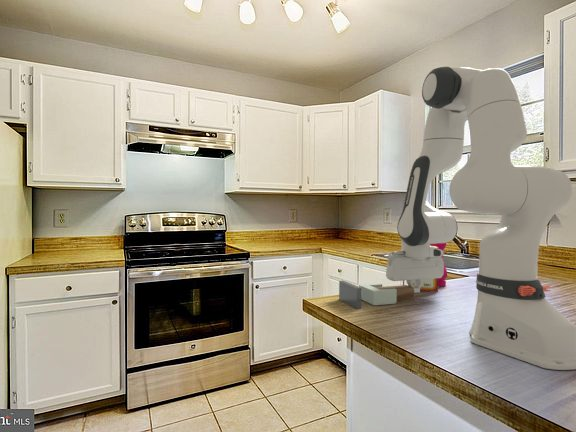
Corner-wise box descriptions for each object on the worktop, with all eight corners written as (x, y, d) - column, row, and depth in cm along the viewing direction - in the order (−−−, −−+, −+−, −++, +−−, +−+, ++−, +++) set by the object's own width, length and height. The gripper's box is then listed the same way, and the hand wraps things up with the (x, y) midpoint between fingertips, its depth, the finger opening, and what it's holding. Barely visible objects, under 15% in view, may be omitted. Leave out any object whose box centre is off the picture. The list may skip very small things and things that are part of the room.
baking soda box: (435, 288, 128) (436, 245, 128) (438, 292, 122) (438, 247, 122) (408, 286, 131) (409, 244, 131) (409, 290, 125) (410, 245, 124)
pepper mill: (430, 282, 138) (431, 232, 138) (449, 284, 134) (450, 233, 134) (424, 285, 133) (425, 233, 133) (444, 288, 128) (445, 234, 128)
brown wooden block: (413, 300, 111) (414, 287, 111) (381, 302, 107) (381, 290, 107) (406, 297, 115) (406, 285, 115) (374, 299, 111) (374, 287, 111)
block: (396, 303, 106) (396, 289, 106) (373, 305, 103) (374, 291, 103) (380, 296, 114) (380, 283, 114) (358, 298, 112) (358, 285, 111)
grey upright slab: (361, 308, 101) (361, 288, 100) (356, 308, 100) (356, 288, 100) (343, 299, 111) (343, 280, 111) (339, 299, 110) (339, 280, 110)
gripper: (394, 253, 107) (393, 297, 107) (447, 251, 113) (446, 293, 113) (382, 250, 113) (381, 292, 113) (433, 248, 119) (432, 288, 119)
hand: (414, 292), depth 113 cm, fingers closed
